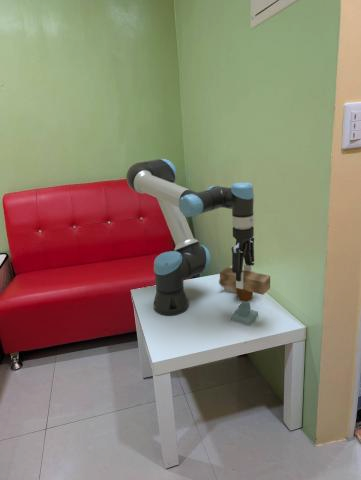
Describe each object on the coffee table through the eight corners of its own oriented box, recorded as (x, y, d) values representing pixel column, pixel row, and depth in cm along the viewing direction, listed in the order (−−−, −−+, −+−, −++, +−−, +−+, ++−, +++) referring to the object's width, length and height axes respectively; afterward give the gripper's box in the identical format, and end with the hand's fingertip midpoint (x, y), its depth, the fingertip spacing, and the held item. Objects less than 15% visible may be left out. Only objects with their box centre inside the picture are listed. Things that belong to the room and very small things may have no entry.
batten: (220, 284, 137) (219, 272, 135) (227, 278, 141) (227, 267, 139) (263, 294, 126) (263, 282, 124) (270, 288, 130) (270, 275, 129)
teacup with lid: (237, 282, 168) (236, 260, 164) (247, 290, 160) (247, 267, 156) (214, 288, 164) (214, 265, 160) (224, 296, 156) (223, 272, 152)
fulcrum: (230, 320, 138) (230, 306, 136) (239, 310, 144) (239, 297, 142) (249, 325, 133) (249, 311, 131) (258, 315, 140) (258, 302, 138)
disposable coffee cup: (256, 303, 149) (256, 277, 145) (233, 302, 151) (232, 277, 147) (256, 292, 157) (256, 268, 154) (234, 292, 159) (234, 268, 156)
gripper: (240, 235, 117) (241, 297, 124) (263, 220, 131) (263, 276, 138) (220, 232, 121) (222, 292, 129) (245, 218, 135) (246, 273, 143)
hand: (243, 284), depth 133 cm, fingers closed on batten, 6 cm apart
